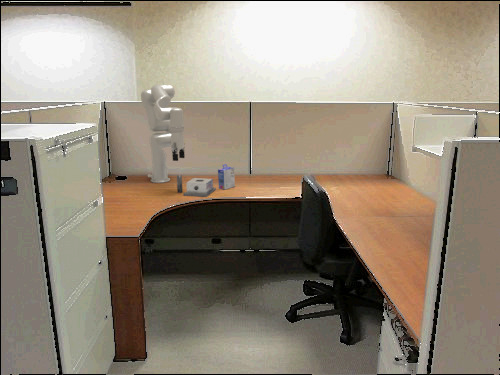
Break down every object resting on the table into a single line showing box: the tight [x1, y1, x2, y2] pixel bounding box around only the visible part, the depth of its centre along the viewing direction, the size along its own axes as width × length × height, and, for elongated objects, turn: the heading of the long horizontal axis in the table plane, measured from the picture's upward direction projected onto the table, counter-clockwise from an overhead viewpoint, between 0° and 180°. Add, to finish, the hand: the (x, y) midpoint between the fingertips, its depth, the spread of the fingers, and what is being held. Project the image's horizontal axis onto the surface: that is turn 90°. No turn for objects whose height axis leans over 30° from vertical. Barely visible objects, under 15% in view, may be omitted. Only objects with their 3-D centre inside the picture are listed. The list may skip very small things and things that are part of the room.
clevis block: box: [183, 177, 217, 198], centre depth 260 cm, size 14×18×7 cm
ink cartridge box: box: [217, 163, 236, 190], centre depth 271 cm, size 10×6×14 cm, turn 141°
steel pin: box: [176, 175, 183, 194], centre depth 261 cm, size 3×3×10 cm
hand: (178, 159), depth 257 cm, fingers open, 9 cm apart
